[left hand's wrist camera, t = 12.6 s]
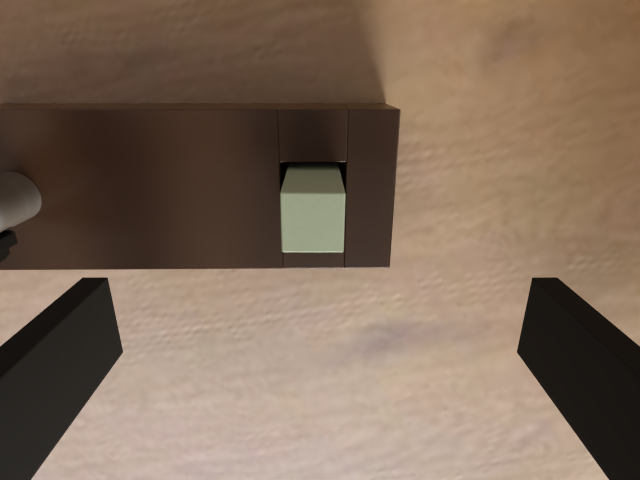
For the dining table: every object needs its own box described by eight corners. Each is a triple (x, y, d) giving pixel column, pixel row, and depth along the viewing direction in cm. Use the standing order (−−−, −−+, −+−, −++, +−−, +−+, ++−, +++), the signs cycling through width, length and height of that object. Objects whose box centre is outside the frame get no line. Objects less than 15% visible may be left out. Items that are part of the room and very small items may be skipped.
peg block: (386, 103, 28) (434, 122, 17) (378, 240, 32) (413, 329, 21) (1, 103, 28) (-209, 123, 17) (38, 241, 32) (-113, 332, 20)
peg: (336, 155, 29) (345, 192, 20) (335, 198, 31) (343, 253, 21) (290, 155, 29) (279, 192, 20) (291, 198, 31) (281, 252, 21)
